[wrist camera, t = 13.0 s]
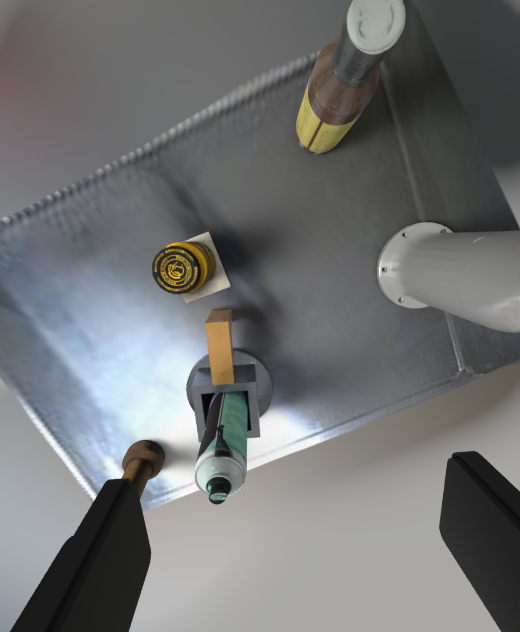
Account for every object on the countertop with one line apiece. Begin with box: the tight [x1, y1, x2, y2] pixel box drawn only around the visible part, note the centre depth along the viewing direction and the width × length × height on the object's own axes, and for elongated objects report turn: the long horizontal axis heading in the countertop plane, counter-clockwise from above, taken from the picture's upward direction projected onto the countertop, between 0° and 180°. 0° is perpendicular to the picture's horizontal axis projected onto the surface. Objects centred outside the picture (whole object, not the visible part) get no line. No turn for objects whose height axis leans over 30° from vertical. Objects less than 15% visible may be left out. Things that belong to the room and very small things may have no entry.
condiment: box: [152, 232, 230, 303], centre depth 37 cm, size 7×8×12 cm
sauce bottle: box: [296, 0, 405, 155], centre depth 29 cm, size 6×6×20 cm
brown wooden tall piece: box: [121, 441, 165, 499], centre depth 42 cm, size 7×6×18 cm
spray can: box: [195, 390, 248, 504], centre depth 37 cm, size 6×6×20 cm
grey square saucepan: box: [186, 309, 273, 442], centre depth 44 cm, size 14×20×7 cm
